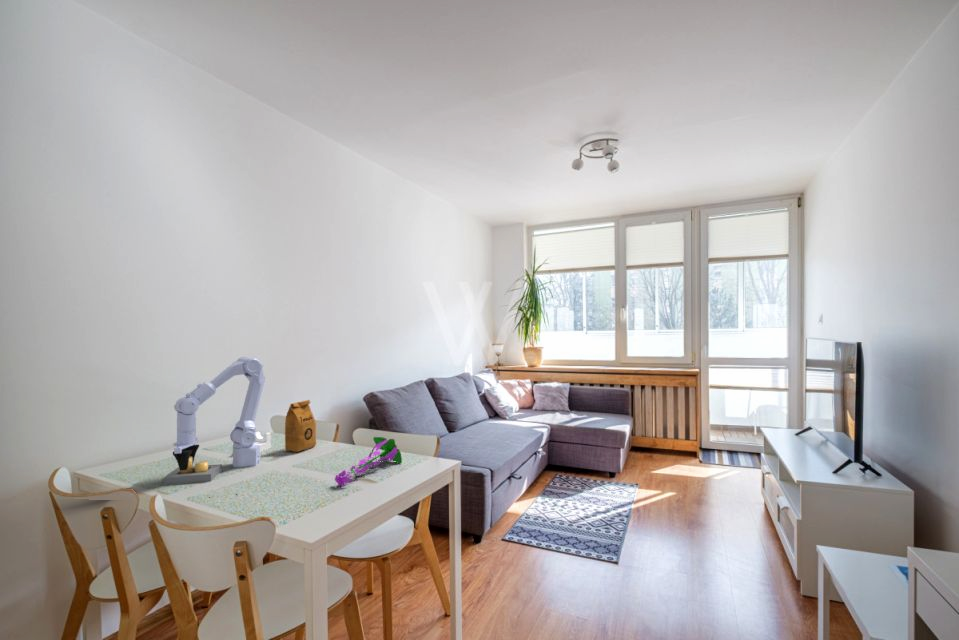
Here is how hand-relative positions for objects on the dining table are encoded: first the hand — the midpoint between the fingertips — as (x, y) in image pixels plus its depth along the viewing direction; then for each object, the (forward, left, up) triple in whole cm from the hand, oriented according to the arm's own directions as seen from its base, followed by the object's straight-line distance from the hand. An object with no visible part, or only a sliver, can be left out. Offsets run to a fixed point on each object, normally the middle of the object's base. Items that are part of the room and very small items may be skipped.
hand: (186, 467), depth 158 cm
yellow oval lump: (0, 0, -1) cm, 1 cm away
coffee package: (-34, -34, -6) cm, 48 cm away
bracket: (-13, -35, -6) cm, 38 cm away
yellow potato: (-5, 0, -4) cm, 6 cm away
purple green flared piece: (-66, +5, -6) cm, 66 cm away
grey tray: (-3, 0, -5) cm, 6 cm away
